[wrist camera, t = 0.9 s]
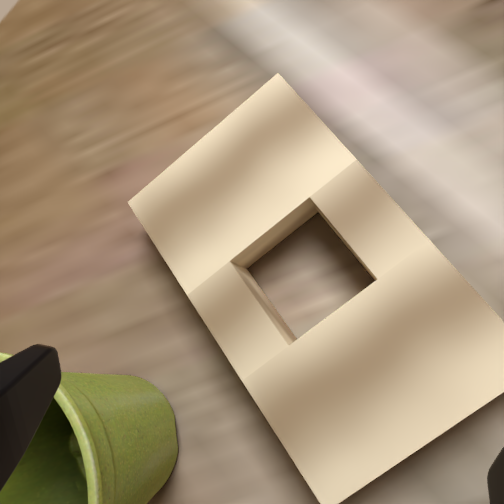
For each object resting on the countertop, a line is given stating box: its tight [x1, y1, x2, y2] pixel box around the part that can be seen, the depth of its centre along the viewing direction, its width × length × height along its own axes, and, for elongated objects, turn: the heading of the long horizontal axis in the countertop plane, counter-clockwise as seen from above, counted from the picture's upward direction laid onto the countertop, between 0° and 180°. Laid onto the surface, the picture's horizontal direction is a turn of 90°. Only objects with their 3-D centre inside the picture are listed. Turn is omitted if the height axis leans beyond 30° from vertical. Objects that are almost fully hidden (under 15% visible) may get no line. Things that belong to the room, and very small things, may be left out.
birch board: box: [128, 73, 504, 504], centre depth 19 cm, size 16×10×2 cm, turn 38°
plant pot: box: [0, 353, 178, 504], centre depth 18 cm, size 9×9×9 cm
